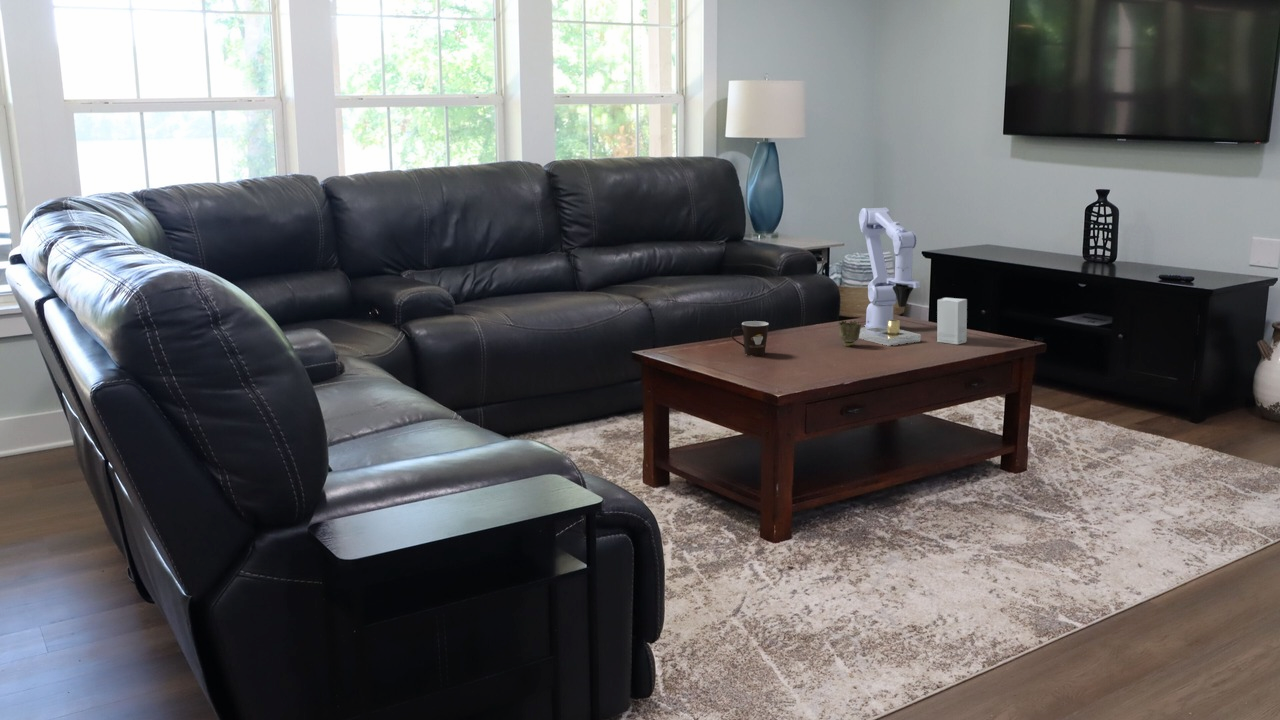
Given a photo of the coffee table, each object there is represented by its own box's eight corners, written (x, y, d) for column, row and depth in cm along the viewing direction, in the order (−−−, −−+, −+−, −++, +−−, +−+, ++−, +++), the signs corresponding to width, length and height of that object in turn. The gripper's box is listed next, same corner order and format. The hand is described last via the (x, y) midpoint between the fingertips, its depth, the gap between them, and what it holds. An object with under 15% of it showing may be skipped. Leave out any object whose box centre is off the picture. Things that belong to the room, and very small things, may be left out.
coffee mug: (770, 351, 356) (770, 321, 354) (765, 357, 348) (766, 326, 346) (734, 350, 360) (735, 320, 357) (729, 355, 351) (730, 325, 349)
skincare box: (966, 342, 368) (969, 299, 365) (957, 345, 364) (959, 301, 361) (944, 339, 374) (946, 296, 371) (935, 341, 370) (937, 298, 367)
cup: (859, 343, 368) (860, 320, 366) (861, 348, 360) (862, 324, 359) (836, 343, 368) (837, 320, 367) (838, 348, 361) (839, 324, 359)
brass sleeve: (884, 340, 373) (885, 320, 371) (893, 339, 375) (894, 319, 373) (892, 342, 369) (893, 321, 368) (901, 341, 371) (902, 320, 370)
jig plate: (849, 336, 381) (850, 328, 380) (880, 331, 387) (881, 325, 387) (888, 346, 364) (889, 338, 363) (920, 341, 370) (920, 334, 370)
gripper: (927, 268, 370) (925, 308, 373) (898, 264, 383) (896, 302, 386) (911, 270, 367) (910, 310, 370) (882, 265, 379) (881, 304, 382)
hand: (902, 306), depth 377 cm, fingers closed
